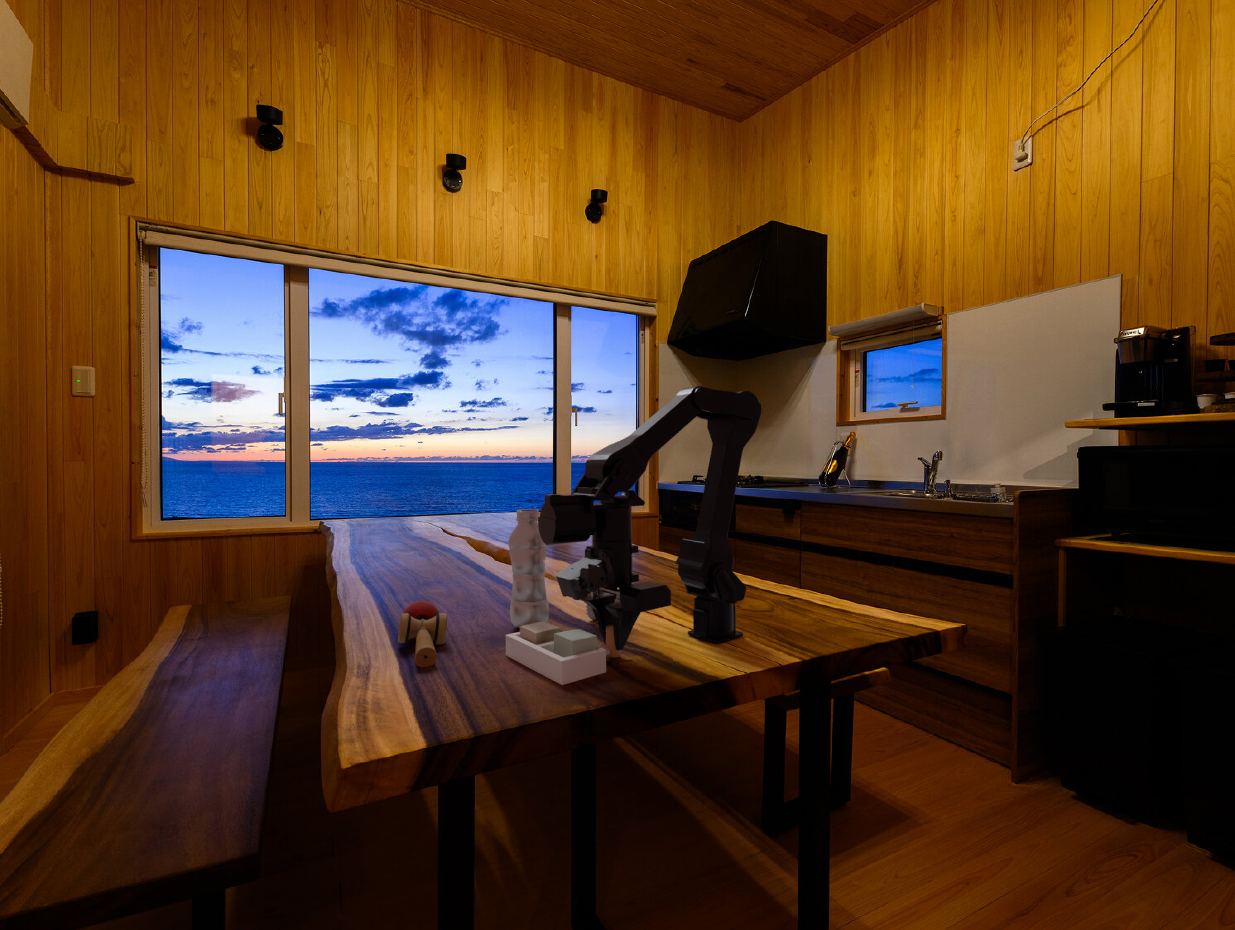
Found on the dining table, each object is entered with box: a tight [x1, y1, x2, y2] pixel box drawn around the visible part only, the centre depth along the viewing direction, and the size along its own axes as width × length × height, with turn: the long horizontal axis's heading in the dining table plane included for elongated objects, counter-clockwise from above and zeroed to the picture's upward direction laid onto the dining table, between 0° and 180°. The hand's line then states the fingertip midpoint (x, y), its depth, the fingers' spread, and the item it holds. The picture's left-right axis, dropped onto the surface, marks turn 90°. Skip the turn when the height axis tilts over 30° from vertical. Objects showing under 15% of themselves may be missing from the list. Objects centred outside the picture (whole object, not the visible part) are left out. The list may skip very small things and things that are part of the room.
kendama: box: [397, 600, 448, 668], centre depth 90 cm, size 8×6×18 cm
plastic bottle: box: [507, 508, 550, 629], centre depth 101 cm, size 6×7×20 cm
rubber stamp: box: [554, 625, 622, 658], centre depth 82 cm, size 10×4×4 cm, turn 128°
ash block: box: [519, 621, 561, 645], centre depth 85 cm, size 4×4×4 cm
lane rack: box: [505, 631, 607, 686], centre depth 83 cm, size 7×15×3 cm, turn 38°
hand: (614, 647), depth 85 cm, fingers closed on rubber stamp, 2 cm apart
